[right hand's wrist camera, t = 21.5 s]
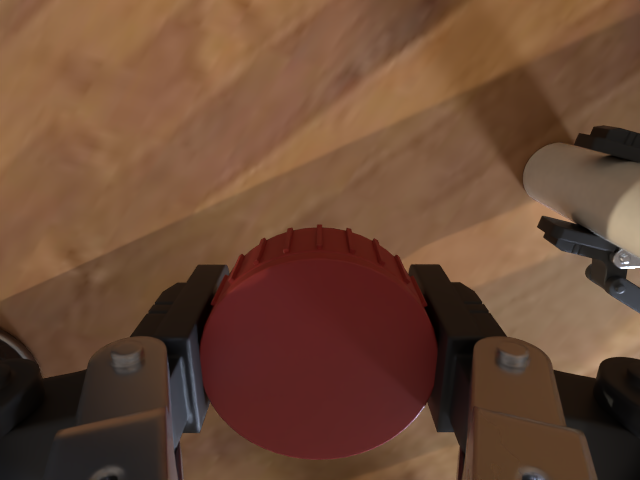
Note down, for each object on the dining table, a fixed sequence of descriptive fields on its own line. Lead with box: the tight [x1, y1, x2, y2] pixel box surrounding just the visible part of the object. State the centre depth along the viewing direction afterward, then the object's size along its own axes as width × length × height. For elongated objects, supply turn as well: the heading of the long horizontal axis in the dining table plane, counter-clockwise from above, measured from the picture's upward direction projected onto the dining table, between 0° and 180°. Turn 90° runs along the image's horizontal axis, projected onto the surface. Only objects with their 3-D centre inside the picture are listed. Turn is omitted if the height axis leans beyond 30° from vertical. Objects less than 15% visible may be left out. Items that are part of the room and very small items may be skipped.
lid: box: [199, 225, 438, 460], centre depth 10 cm, size 5×5×2 cm
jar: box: [523, 143, 640, 259], centre depth 23 cm, size 4×4×17 cm
